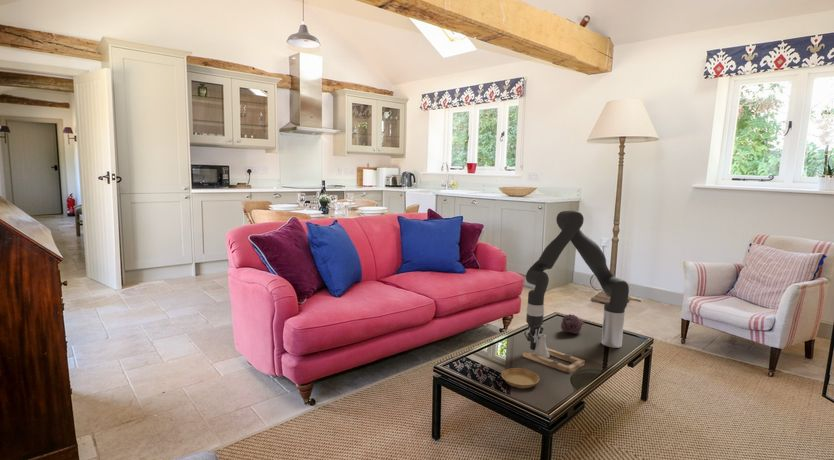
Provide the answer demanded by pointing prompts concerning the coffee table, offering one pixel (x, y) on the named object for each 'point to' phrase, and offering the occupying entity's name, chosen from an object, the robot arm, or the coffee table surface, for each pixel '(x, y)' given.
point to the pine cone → (571, 324)
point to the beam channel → (569, 369)
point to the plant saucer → (520, 377)
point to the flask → (541, 347)
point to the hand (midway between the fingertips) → (533, 349)
